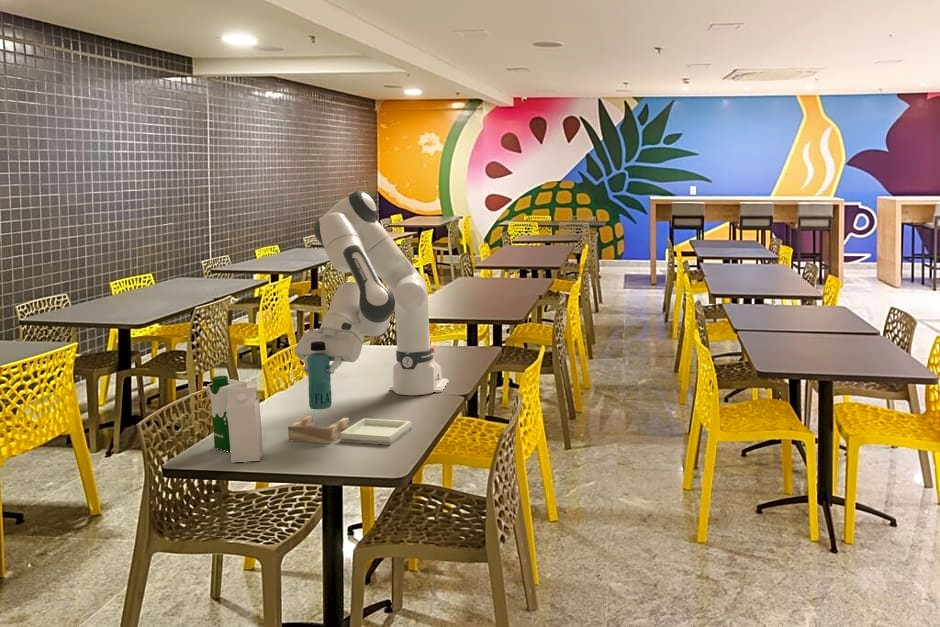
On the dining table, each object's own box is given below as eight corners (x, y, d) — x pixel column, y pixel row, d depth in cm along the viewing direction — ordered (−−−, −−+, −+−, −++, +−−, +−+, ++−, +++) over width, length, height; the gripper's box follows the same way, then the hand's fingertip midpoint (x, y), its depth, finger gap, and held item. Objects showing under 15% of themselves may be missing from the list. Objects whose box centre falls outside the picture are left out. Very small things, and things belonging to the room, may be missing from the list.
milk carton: (236, 455, 232) (230, 385, 229) (263, 453, 233) (258, 384, 230) (231, 464, 225) (225, 392, 222) (259, 462, 226) (253, 390, 223)
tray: (364, 426, 254) (363, 418, 254) (412, 429, 250) (411, 421, 249) (340, 441, 241) (339, 433, 240) (390, 445, 236) (389, 436, 235)
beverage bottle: (313, 416, 242) (310, 345, 239) (305, 410, 248) (302, 341, 244) (335, 412, 245) (333, 342, 242) (327, 407, 251) (325, 338, 247)
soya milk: (209, 448, 239) (203, 377, 236) (237, 440, 246) (232, 370, 243) (227, 454, 234) (221, 381, 230) (256, 445, 240) (250, 374, 237)
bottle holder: (309, 428, 254) (308, 415, 254) (349, 431, 250) (348, 418, 249) (288, 440, 244) (287, 426, 243) (330, 443, 239) (329, 429, 239)
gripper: (300, 323, 253) (282, 364, 246) (359, 325, 244) (342, 367, 237) (311, 336, 258) (293, 376, 251) (369, 338, 249) (353, 379, 242)
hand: (318, 372), depth 244 cm, fingers closed on beverage bottle, 6 cm apart
